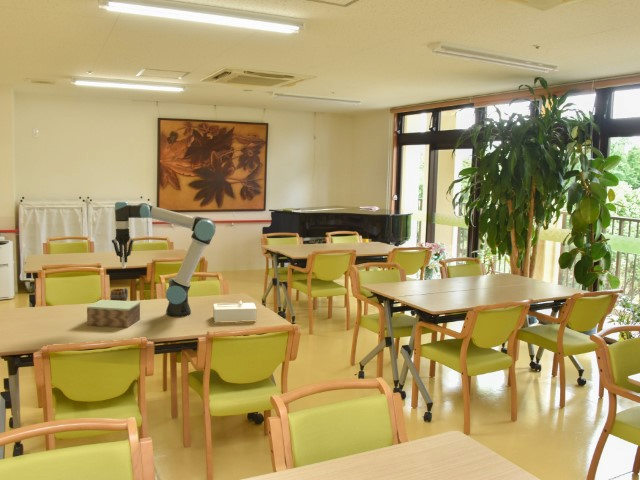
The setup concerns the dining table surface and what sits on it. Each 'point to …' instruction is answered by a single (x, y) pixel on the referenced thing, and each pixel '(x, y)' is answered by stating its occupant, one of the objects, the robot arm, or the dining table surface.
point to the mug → (119, 294)
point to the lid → (113, 305)
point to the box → (113, 317)
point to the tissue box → (234, 311)
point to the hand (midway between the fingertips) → (124, 267)
